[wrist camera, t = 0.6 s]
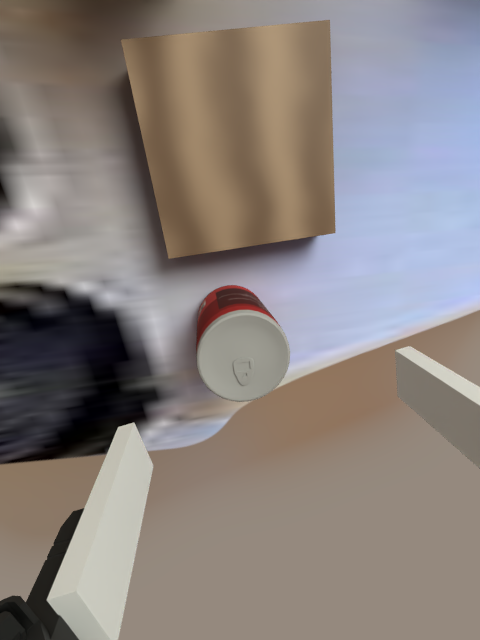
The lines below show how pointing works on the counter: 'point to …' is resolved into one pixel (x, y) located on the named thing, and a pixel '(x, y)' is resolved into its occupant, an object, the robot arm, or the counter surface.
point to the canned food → (239, 345)
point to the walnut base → (237, 134)
